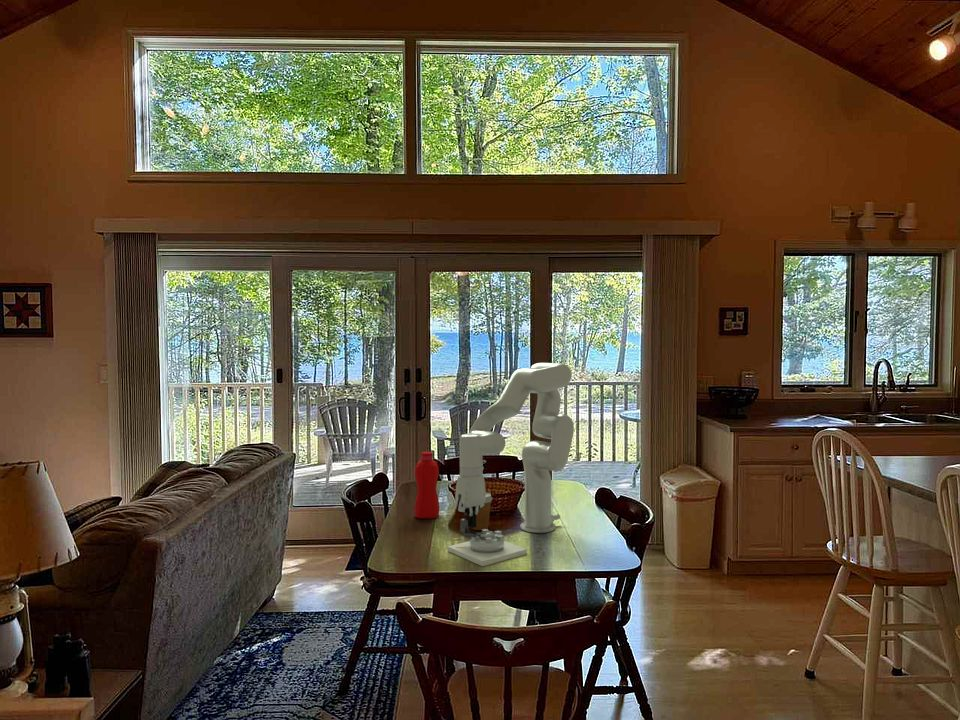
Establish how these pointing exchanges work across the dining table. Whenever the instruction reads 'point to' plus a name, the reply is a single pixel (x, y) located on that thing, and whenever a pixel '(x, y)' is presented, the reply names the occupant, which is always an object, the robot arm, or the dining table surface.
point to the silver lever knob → (483, 539)
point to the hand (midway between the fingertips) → (471, 526)
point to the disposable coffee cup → (483, 514)
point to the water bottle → (426, 487)
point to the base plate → (487, 558)
